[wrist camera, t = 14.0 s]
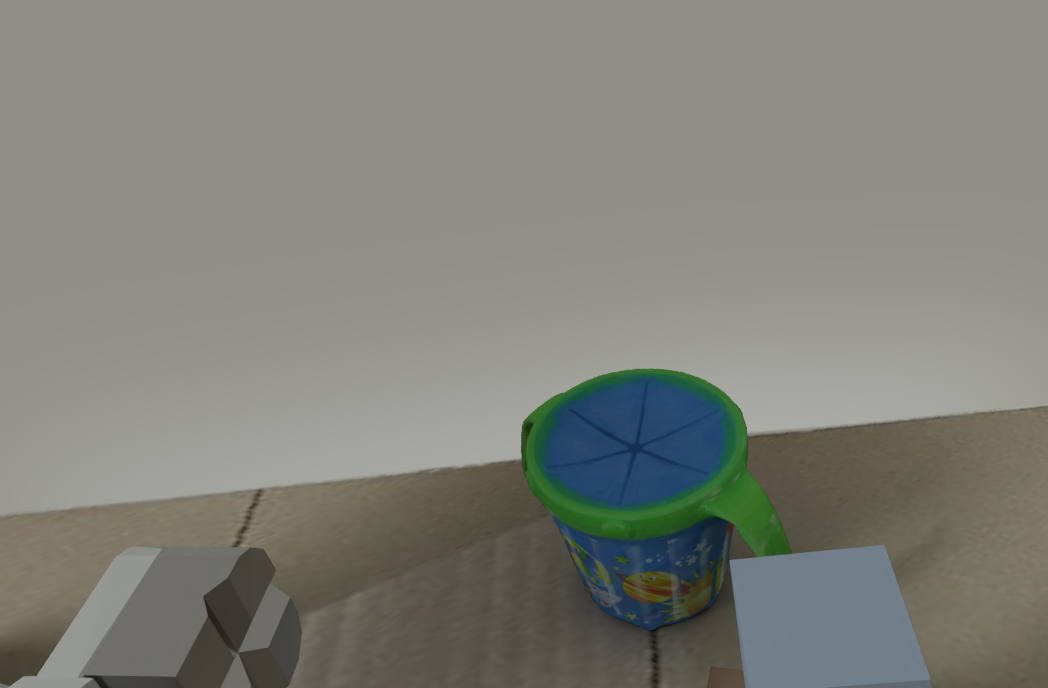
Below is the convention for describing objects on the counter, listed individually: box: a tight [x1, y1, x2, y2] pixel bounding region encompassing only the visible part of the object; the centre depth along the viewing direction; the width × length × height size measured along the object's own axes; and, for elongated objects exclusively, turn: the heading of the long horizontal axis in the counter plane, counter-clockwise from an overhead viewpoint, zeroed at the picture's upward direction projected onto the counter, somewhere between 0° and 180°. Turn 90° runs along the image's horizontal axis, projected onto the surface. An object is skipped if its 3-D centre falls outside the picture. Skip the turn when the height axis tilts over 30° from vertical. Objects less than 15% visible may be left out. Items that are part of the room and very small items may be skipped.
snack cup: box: [521, 369, 792, 630], centre depth 46 cm, size 16×10×10 cm
